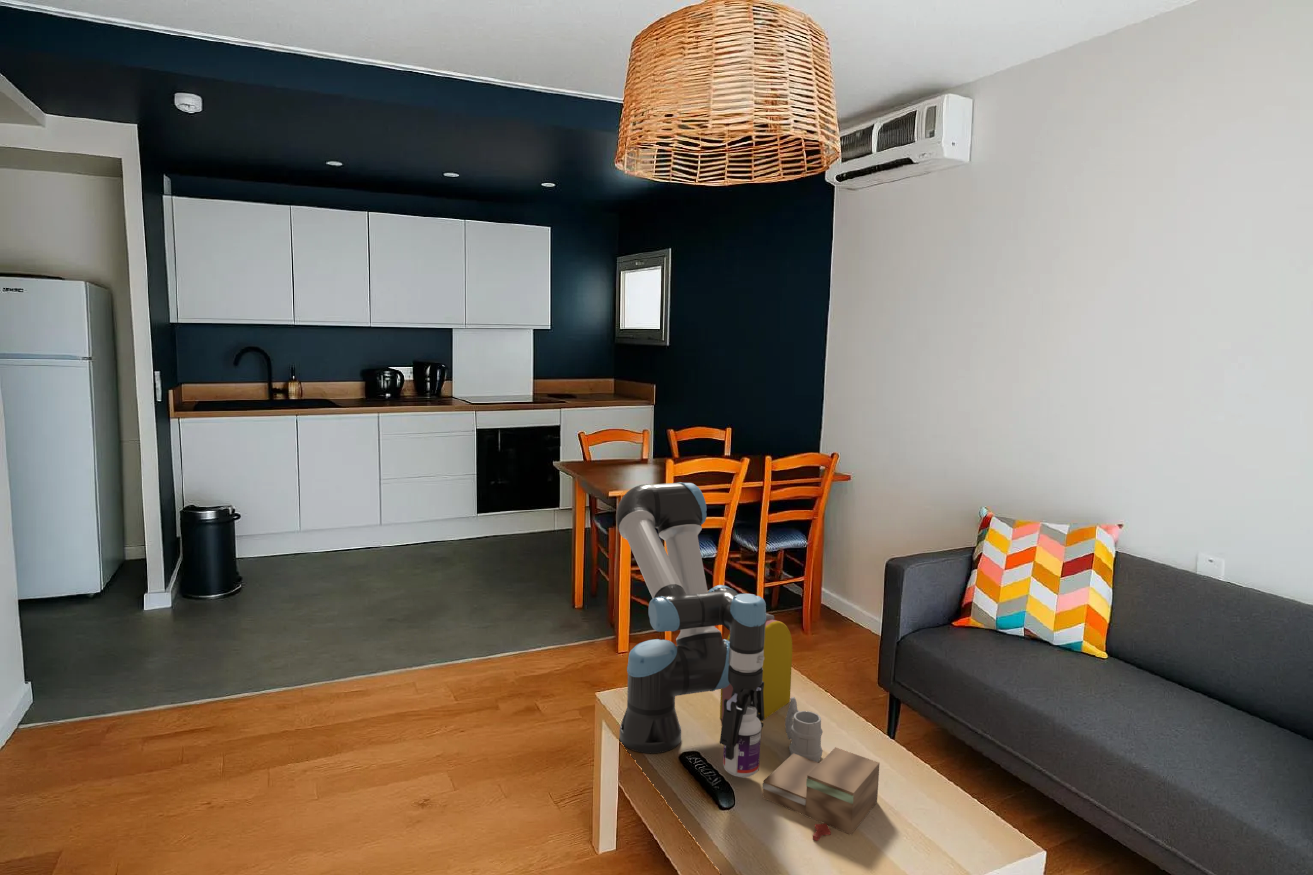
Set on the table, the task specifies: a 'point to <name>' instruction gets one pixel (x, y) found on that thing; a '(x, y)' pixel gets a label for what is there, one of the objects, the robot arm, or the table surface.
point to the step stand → (826, 789)
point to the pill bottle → (748, 744)
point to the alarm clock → (772, 668)
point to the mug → (804, 732)
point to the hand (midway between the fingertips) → (741, 761)
